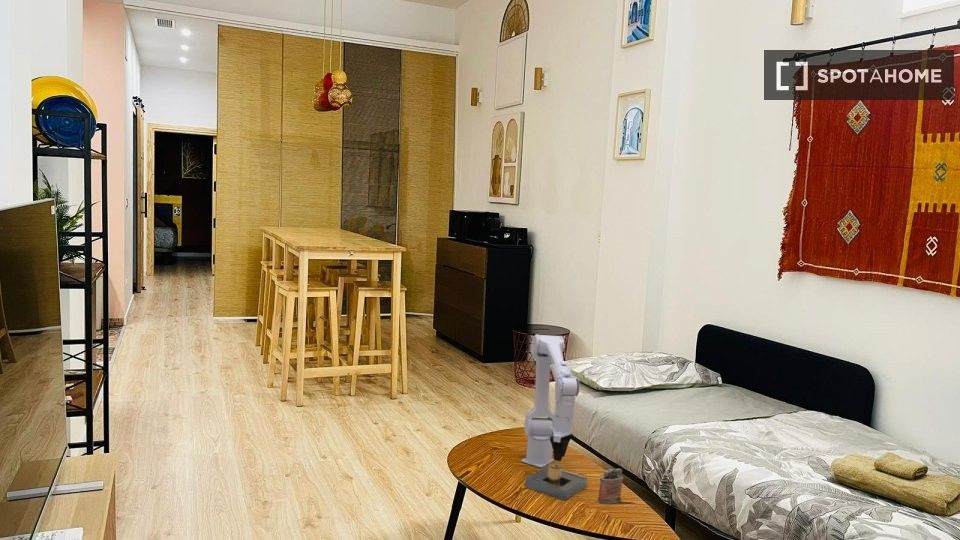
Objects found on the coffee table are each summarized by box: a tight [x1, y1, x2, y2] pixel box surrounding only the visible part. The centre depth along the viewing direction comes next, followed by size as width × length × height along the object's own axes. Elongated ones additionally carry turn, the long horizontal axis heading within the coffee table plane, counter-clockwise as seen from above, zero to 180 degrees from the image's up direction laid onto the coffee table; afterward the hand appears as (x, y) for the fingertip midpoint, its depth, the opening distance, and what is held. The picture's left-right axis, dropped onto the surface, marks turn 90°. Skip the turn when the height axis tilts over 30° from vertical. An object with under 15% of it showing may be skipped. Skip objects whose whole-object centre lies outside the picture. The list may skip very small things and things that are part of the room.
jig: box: [524, 464, 588, 501], centre depth 231 cm, size 15×14×3 cm
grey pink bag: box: [597, 468, 624, 505], centre depth 223 cm, size 8×3×10 cm, turn 117°
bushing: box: [547, 461, 564, 486], centre depth 228 cm, size 4×4×8 cm
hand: (559, 458), depth 228 cm, fingers open, 4 cm apart
